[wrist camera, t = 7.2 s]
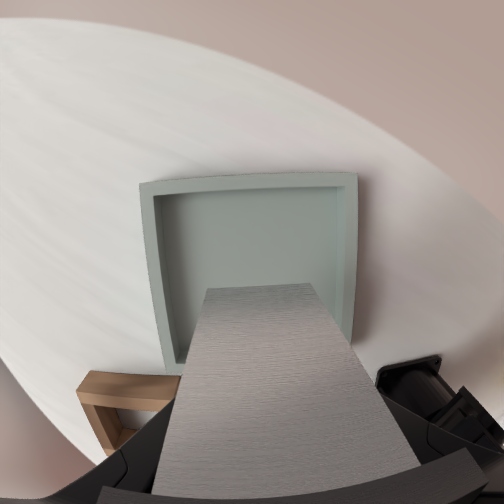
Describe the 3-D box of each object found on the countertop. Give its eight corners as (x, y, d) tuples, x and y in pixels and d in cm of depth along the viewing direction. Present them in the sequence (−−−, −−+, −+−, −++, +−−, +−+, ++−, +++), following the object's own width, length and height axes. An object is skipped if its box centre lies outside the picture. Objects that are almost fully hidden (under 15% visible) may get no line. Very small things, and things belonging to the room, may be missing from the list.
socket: (179, 375, 22) (172, 400, 19) (195, 441, 24) (191, 465, 21) (89, 370, 22) (75, 391, 19) (115, 435, 23) (106, 456, 20)
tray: (346, 173, 19) (357, 172, 17) (340, 347, 22) (348, 361, 20) (149, 182, 18) (138, 183, 16) (171, 357, 21) (166, 372, 19)
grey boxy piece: (322, 269, 12) (489, 480, 2) (317, 374, 13) (389, 576, 3) (193, 276, 12) (87, 529, 2) (206, 381, 13) (179, 597, 3)
